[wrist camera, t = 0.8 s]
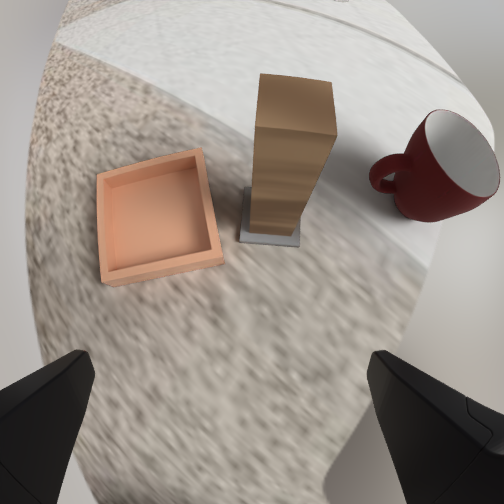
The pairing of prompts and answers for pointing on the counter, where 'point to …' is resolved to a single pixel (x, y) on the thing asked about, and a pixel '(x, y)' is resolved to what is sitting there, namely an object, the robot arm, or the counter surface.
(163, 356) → the counter surface
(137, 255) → the dish
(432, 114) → the mug
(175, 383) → the counter surface
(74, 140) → the counter surface
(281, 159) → the wood grain bar
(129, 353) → the counter surface
